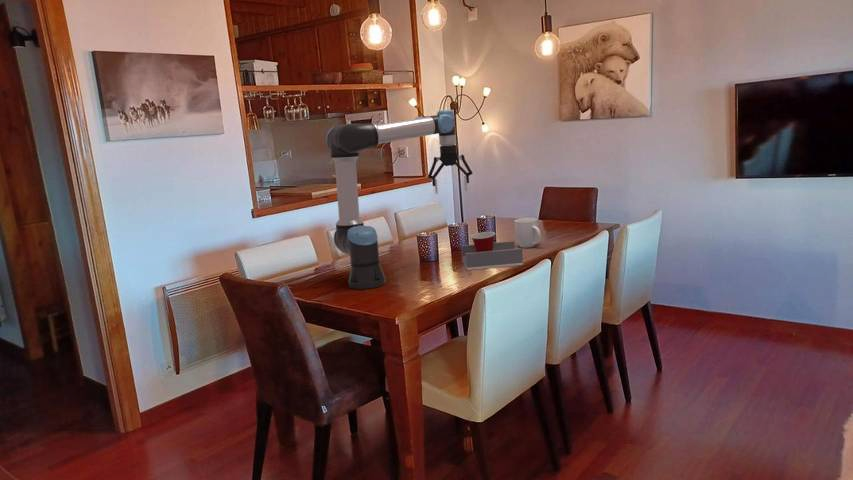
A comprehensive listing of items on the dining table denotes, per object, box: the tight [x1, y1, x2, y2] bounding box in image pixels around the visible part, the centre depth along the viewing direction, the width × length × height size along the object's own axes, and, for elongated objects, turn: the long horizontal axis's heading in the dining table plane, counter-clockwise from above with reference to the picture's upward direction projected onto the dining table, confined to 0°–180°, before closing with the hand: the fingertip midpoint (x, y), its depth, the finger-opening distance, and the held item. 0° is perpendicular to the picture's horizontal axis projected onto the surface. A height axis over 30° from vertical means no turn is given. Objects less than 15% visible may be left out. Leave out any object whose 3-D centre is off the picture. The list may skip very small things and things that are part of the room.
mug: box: [514, 217, 542, 249], centre depth 282 cm, size 15×11×13 cm
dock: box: [461, 240, 524, 271], centre depth 258 cm, size 24×18×7 cm
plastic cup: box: [470, 231, 496, 252], centre depth 258 cm, size 11×11×12 cm
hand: (451, 191), depth 269 cm, fingers open, 13 cm apart
